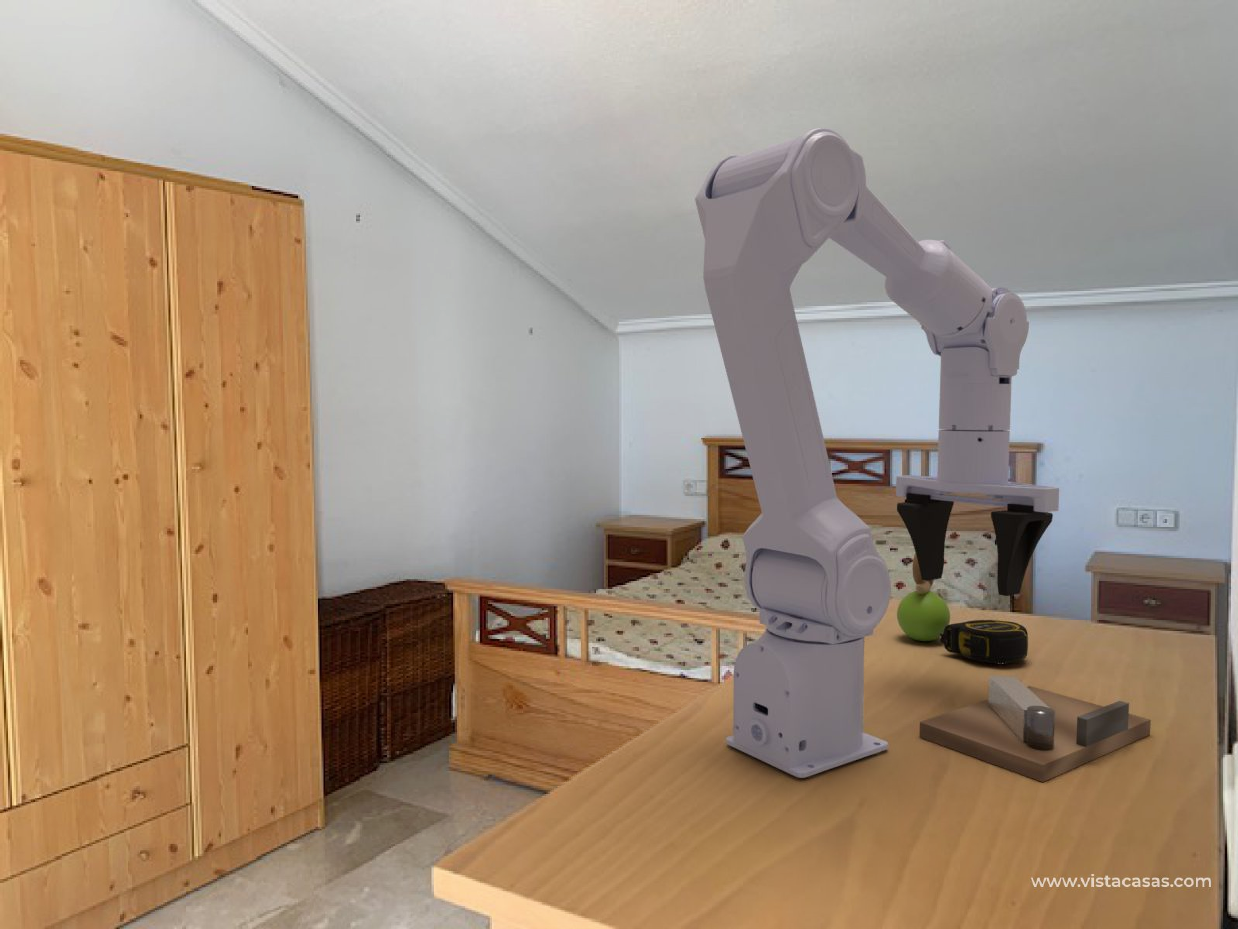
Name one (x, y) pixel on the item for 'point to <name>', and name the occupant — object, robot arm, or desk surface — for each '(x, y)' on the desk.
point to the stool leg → (1022, 711)
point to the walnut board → (1076, 742)
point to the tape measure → (987, 640)
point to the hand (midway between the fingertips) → (968, 586)
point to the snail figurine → (922, 610)
